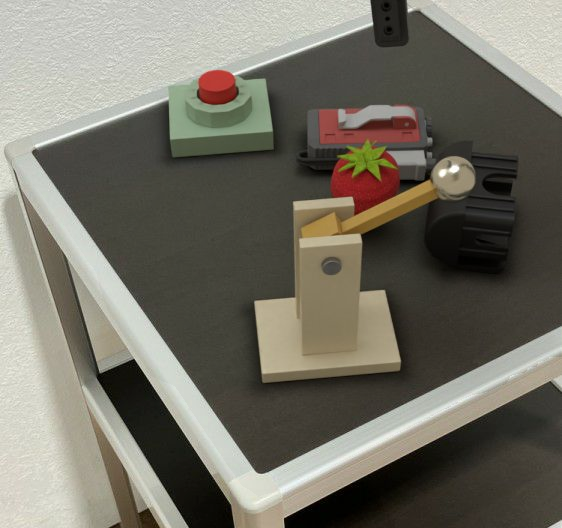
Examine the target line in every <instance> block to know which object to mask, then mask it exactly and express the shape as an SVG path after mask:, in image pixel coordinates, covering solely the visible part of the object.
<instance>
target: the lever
mask: <svg viewBox="0 0 562 528" xmlns="http://www.w3.org/2000/svg"><path fill="white" fill-rule="evenodd" d="M475 185H476V172H475V169H474V167H473V166H472V164H471V163H470V162H469V161H467V160H466V159H464V158H462V157H458V156H450V157H446V158H444V159H442V160H440V161H439V162H438V163H437V164H436V165H435V166H434V168H433V170H432V172H431V173H430V176H429V179H428V180H425V181H424V182H422V183H420V184H417V185H416V186H413V187H411V188H409V189H407V190H405V191H404V192H401V193H399V194H396V196H395V197H393V198H391V199H389V200H387V201H385V202H382V203H380V204H378V205H376V206H374V207H372V208H370V209H368V210H366V211H364V212H362V213H360V214H358V215H356V216H354V217H351V218H349V219H347V220H345V221H343V222H341V220H340V219H339V218H338V216H337V215H336V213H335V212H333V213H331V214H329V215H327V216H325V217H323V218H321V219H319V220H317V221H315V222H313V223H310V224H308V225H306V226H304V227H302V228H301V231H302V237H303V238H312V237H324V236H336V235H348V234H361V235H363V234H366V233H367V232H369V231H372V230H374V229H376V228H378V227H380V226H382V225H384V224H386V223H388V222H391V221H392V220H393V221H394V220H395V219H397V218H399V217H401V216H403V215H405V214H407V213H410V212H412V211H413V210H416V209H418V208H420V207H422V206H424V205H427V204H429V202H431V201H433V200H435V199H437V198H439V199H441V200H442V201H445V202H449V203H457V202H460V201H463V200H465V199H466V198H467V197H469V196H470V195H471V193H472V192H473V190H474V188H475Z"/></svg>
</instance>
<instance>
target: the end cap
mask: <svg viewBox="0 0 562 528" xmlns="http://www.w3.org/2000/svg"><path fill="white" fill-rule="evenodd" d="M473 145H474V139H464V140H458V141H456V142H453V143H451V144H449V145H447V146H446V147H444V148H443V149H442V150H441V151H440V152H439V154H438V155H437V157H436V158H435V159H436V162H435V165H436V164H437V163H438V162H439V161H440V160H442V159H444V158H446V157H450V156H458V157H462V158H464V159H466V160H467V161H469V162H470V163H471V164H472V166H473V167H474V169H475V172H476V185H475V188H474V190H473V192H472V193H471V195H470V196H469V197H467V198H466V199H465V200H463V201H460V202H457V203H449V202H445V201H442V200H441V199H439V198H437V199H435V200H433V201H431V202H428V207H427V214H426V219H425V228H424V234H423V240H424V244H425V247H426V249H427V251H428V252H429V254H430V256H432V257H433V258H435V259H436V260H437V261H439V262H440V263H443V264H445V265H447V266H448V267H450V268H453V269H457V270H460V271H461V270H462V271H470V272H478V273H479V272H480V273H489V274H501V273H503V272H504V269H505V264H506V263H505V262H507V260H508V259H507V258H508V253H509V248H510V245H508V238H512V234H513V230H514V226H515V225H514V224H515V217H516V204H517V196H513V195H511V194H512V189H513V184H514V180H517V178H518V171H519V155H517V154H516V155H515V154H505V153H494V152H485V151H484V152H483V151H474V150H473ZM513 179H514V180H513Z"/></svg>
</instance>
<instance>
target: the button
mask: <svg viewBox="0 0 562 528" xmlns="http://www.w3.org/2000/svg"><path fill="white" fill-rule="evenodd" d="M234 76H235V75H234V74H233V73H232V72H230V71H229V70H228V71H227V70H223V69H212V70H209V71H206V72H204V73H203V74H201V75H200V77H198V78H199V80H198V84H199V93H200V99H201V100H202V102H204V103H206V104H210V105H222V104H226V103H229V102H231V101H233V100H234V99H235V98H236V82H235V77H234Z"/></svg>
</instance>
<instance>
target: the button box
mask: <svg viewBox="0 0 562 528" xmlns="http://www.w3.org/2000/svg"><path fill="white" fill-rule="evenodd" d="M234 77H235V82H236V98H235V99H234V100H233V101H231V102H229V103H226V104H222V105H210V104H206V103H204V102H202V100H201V99H200V93H199V84H198V80H199V78H200V77H198V78H196V79H193V80H192V81H191V82H190V83H187V84H177V85H176V84H175V85H168V87H167V89H168V118H169V123H168V124H169V142H170V149H171V156H172V158H182V157H195V156H198V157H199V156H209V155H220V154H234V153H247V152H258V151H259V152H260V151H261V152H262V151H271V150H272V151H273V150H275V145H274V144H275V143H274V128H273V127H274V126H273V122H272V121H273V120H272V115H271V107H270V100H269V94H268V85H267V79H266V78H254V79H244V78H242V77H240V76H238V75H234Z"/></svg>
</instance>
